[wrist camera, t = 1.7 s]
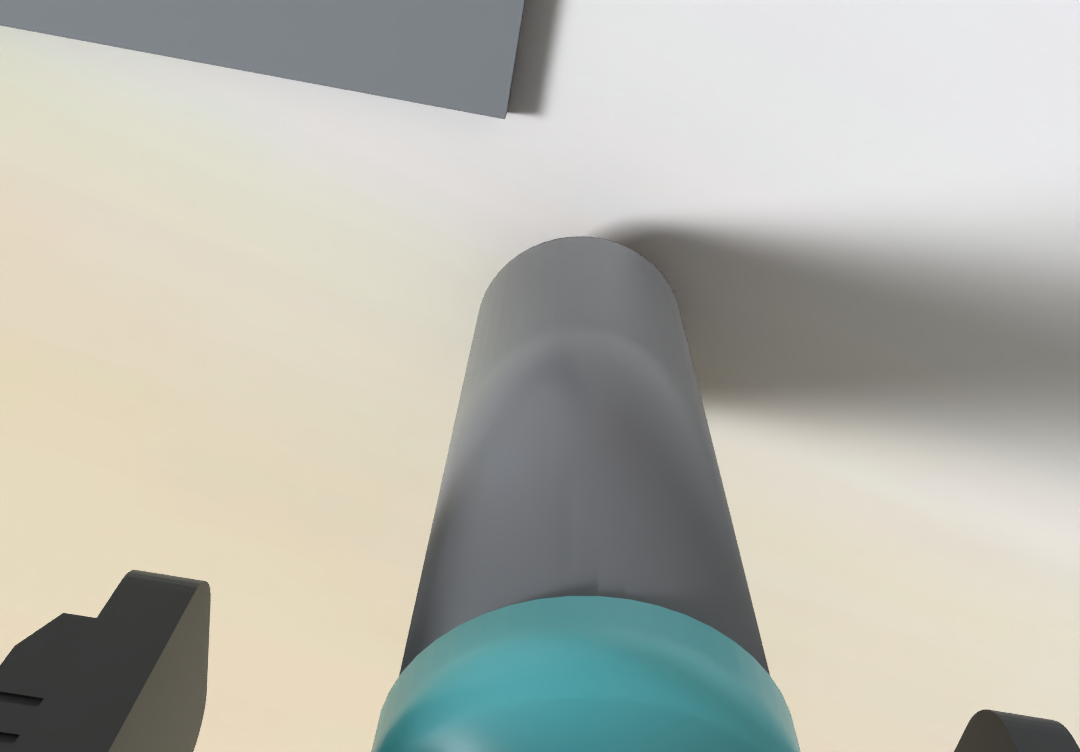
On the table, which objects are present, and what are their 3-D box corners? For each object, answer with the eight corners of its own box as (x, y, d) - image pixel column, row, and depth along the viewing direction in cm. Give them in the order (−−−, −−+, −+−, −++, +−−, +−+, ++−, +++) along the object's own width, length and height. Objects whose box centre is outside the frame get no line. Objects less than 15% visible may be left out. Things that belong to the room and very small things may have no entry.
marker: (494, 193, 19) (375, 659, 7) (703, 231, 19) (892, 740, 8) (463, 381, 20) (331, 987, 9) (655, 414, 21) (752, 1045, 9)
